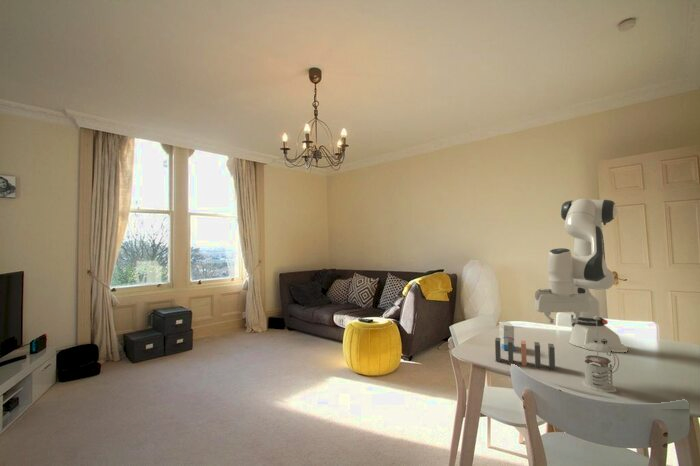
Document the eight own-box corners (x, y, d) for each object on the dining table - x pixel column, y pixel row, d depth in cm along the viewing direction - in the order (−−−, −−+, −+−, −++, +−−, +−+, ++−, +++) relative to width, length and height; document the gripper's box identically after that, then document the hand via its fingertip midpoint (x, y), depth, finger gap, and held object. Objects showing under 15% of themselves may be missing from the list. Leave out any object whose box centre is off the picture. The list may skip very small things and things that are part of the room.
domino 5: (553, 365, 134) (553, 344, 134) (555, 370, 129) (554, 347, 129) (548, 365, 134) (548, 343, 135) (549, 369, 130) (549, 347, 130)
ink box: (515, 351, 152) (514, 325, 152) (503, 350, 153) (503, 325, 153) (509, 345, 160) (509, 321, 160) (499, 344, 161) (498, 320, 161)
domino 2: (513, 360, 140) (512, 339, 141) (513, 364, 136) (512, 342, 136) (508, 359, 141) (508, 338, 141) (508, 363, 137) (507, 342, 137)
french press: (575, 380, 120) (573, 312, 120) (607, 380, 119) (605, 312, 120) (594, 392, 110) (592, 319, 110) (629, 392, 110) (627, 319, 110)
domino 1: (500, 358, 143) (500, 338, 143) (500, 362, 138) (499, 341, 138) (496, 357, 144) (495, 337, 144) (495, 361, 139) (495, 340, 139)
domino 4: (539, 363, 136) (539, 342, 136) (540, 368, 131) (540, 345, 132) (534, 363, 137) (534, 341, 137) (535, 367, 132) (535, 345, 132)
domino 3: (526, 361, 138) (525, 340, 138) (526, 366, 134) (526, 344, 134) (521, 361, 139) (521, 340, 139) (521, 365, 135) (521, 343, 135)
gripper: (539, 290, 128) (540, 325, 128) (592, 289, 127) (593, 324, 127) (530, 288, 134) (532, 321, 134) (581, 286, 133) (582, 320, 133)
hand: (562, 322), depth 130 cm, fingers open, 8 cm apart
